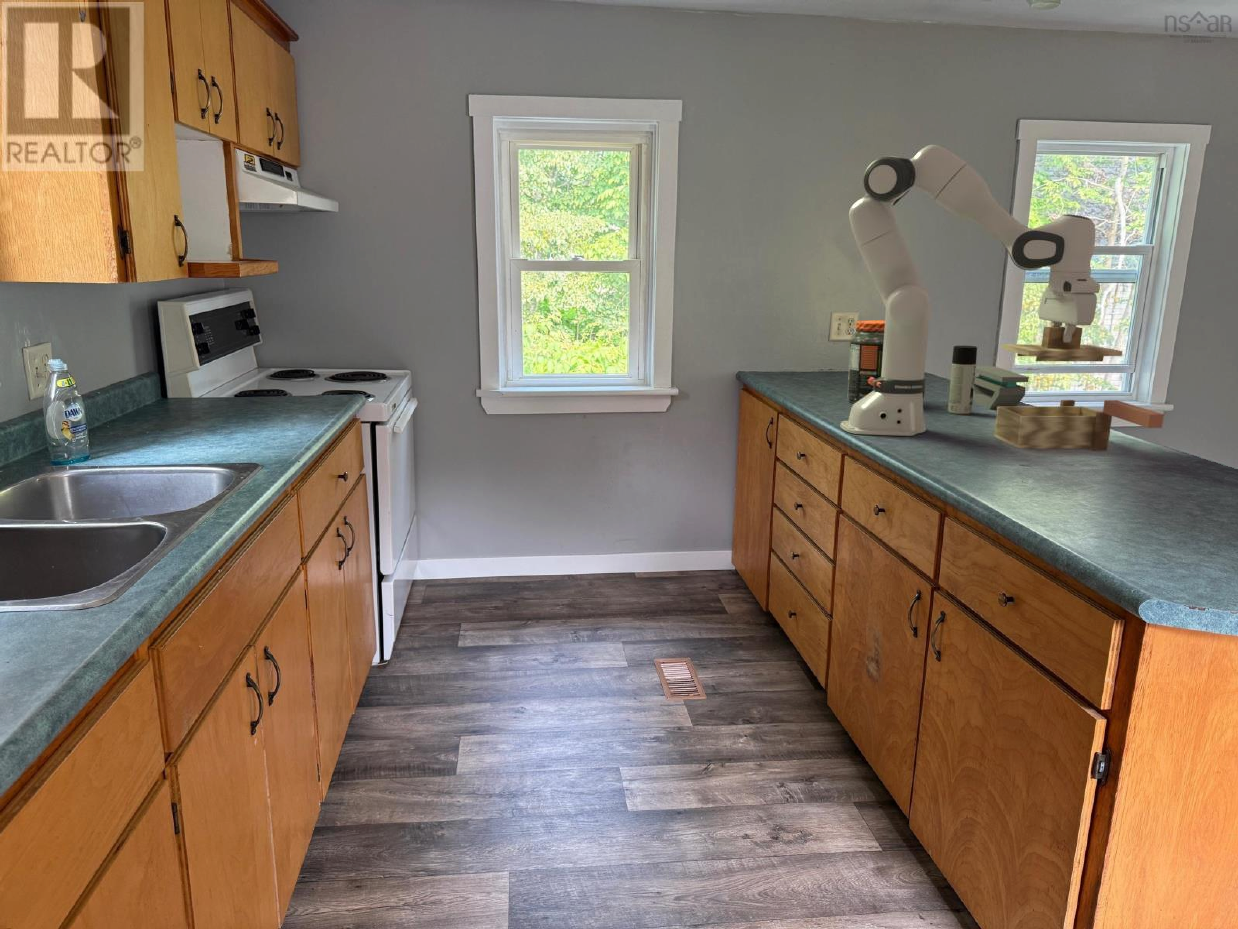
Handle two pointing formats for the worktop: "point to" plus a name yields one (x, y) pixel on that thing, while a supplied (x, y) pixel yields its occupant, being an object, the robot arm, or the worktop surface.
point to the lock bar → (1133, 414)
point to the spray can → (962, 379)
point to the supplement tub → (865, 358)
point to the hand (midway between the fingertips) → (1061, 341)
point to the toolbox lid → (1062, 348)
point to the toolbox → (1053, 427)
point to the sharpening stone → (998, 387)
